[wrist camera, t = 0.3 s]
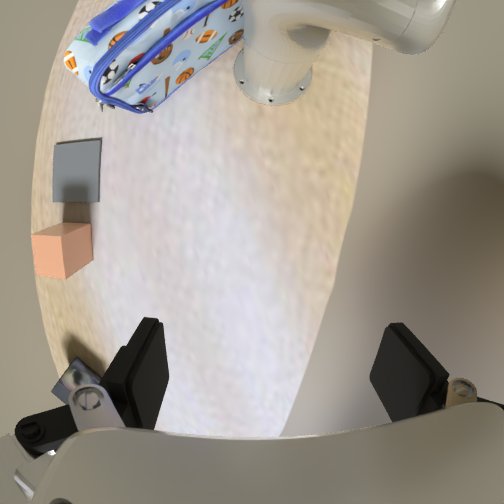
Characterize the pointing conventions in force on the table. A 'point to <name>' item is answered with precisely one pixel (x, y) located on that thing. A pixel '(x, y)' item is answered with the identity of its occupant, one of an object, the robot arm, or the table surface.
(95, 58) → the lunch box
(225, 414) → the table surface
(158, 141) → the table surface
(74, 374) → the small box
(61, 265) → the peach rectangular block
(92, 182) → the mat
